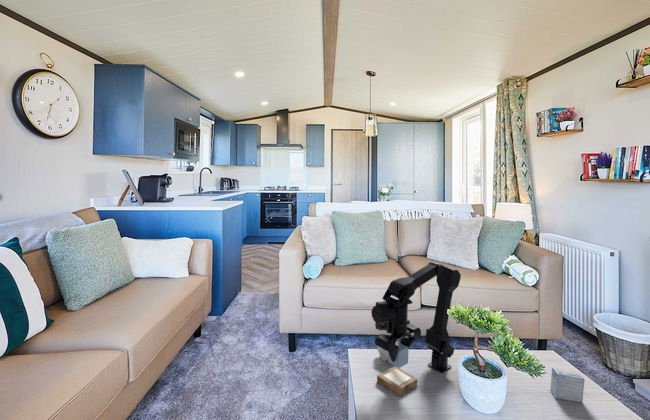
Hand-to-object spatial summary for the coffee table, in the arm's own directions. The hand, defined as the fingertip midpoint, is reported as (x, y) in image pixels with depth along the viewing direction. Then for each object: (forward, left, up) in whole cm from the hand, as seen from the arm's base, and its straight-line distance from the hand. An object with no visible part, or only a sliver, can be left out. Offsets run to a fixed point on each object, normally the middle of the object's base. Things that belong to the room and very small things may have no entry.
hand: (397, 358), depth 113 cm
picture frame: (0, 0, -9) cm, 9 cm away
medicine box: (-41, +39, -10) cm, 57 cm away
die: (-10, -13, -10) cm, 19 cm away
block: (0, 0, -1) cm, 1 cm away
